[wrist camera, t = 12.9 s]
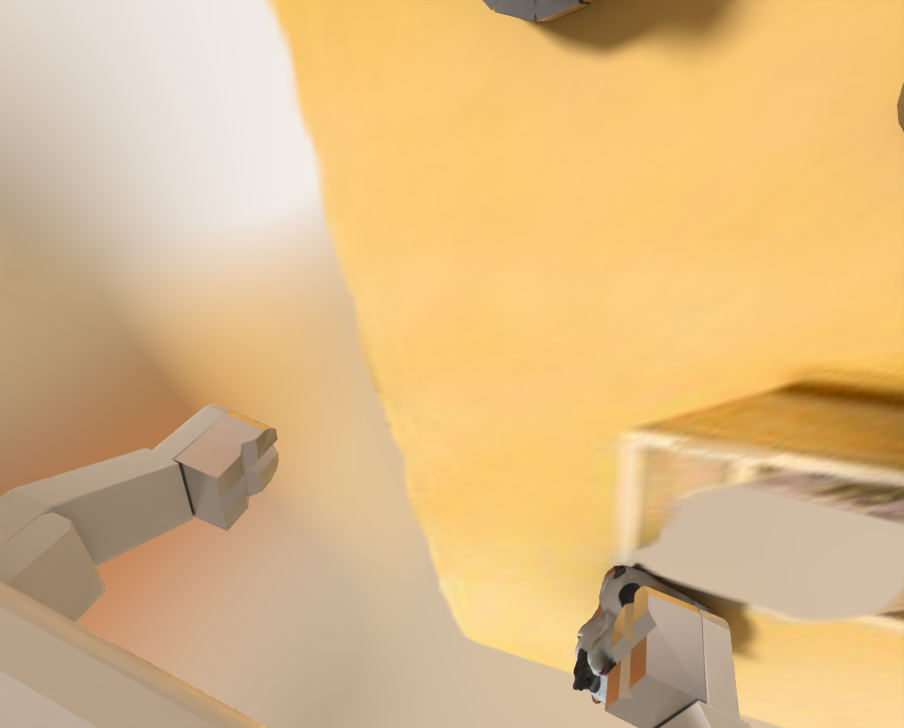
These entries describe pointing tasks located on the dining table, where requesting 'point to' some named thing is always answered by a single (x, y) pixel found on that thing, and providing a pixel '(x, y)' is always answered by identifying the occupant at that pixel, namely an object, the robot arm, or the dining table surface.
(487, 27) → the dining table surface
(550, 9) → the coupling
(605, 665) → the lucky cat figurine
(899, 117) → the olive pawn figure
